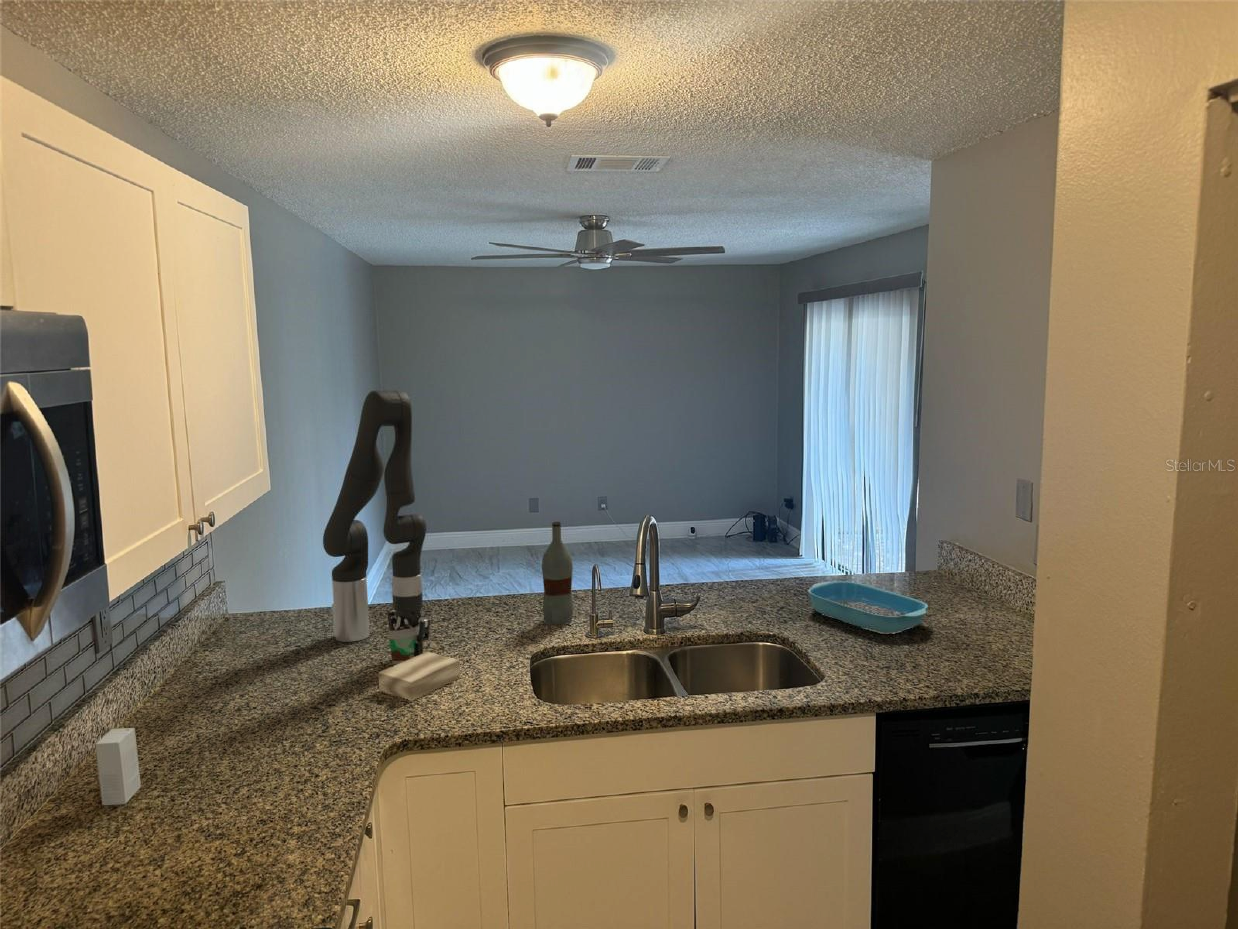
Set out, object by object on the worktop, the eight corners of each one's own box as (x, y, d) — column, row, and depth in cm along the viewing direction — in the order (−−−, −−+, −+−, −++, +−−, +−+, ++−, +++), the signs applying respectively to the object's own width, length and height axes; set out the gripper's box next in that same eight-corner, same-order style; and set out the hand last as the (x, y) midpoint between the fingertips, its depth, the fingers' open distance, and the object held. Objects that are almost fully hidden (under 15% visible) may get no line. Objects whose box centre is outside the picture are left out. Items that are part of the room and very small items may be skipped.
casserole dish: (942, 628, 241) (944, 604, 240) (896, 645, 228) (897, 620, 227) (839, 597, 270) (840, 576, 269) (793, 611, 257) (793, 588, 256)
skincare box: (117, 788, 156) (111, 728, 155) (141, 787, 157) (135, 727, 155) (100, 806, 150) (94, 743, 149) (125, 805, 151) (119, 742, 149)
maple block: (379, 692, 200) (378, 672, 199) (428, 670, 213) (427, 651, 212) (412, 702, 194) (411, 682, 193) (460, 679, 207) (459, 660, 206)
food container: (411, 671, 212) (409, 633, 210) (389, 669, 213) (387, 631, 212) (433, 653, 223) (431, 617, 222) (412, 651, 225) (410, 616, 223)
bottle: (556, 614, 255) (554, 518, 251) (580, 619, 250) (578, 521, 246) (536, 622, 248) (534, 523, 243) (560, 628, 242) (558, 527, 238)
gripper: (377, 589, 217) (380, 651, 219) (415, 599, 209) (417, 663, 211) (400, 582, 223) (402, 643, 225) (437, 592, 215) (439, 654, 217)
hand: (409, 652), depth 218 cm, fingers closed on food container, 6 cm apart
